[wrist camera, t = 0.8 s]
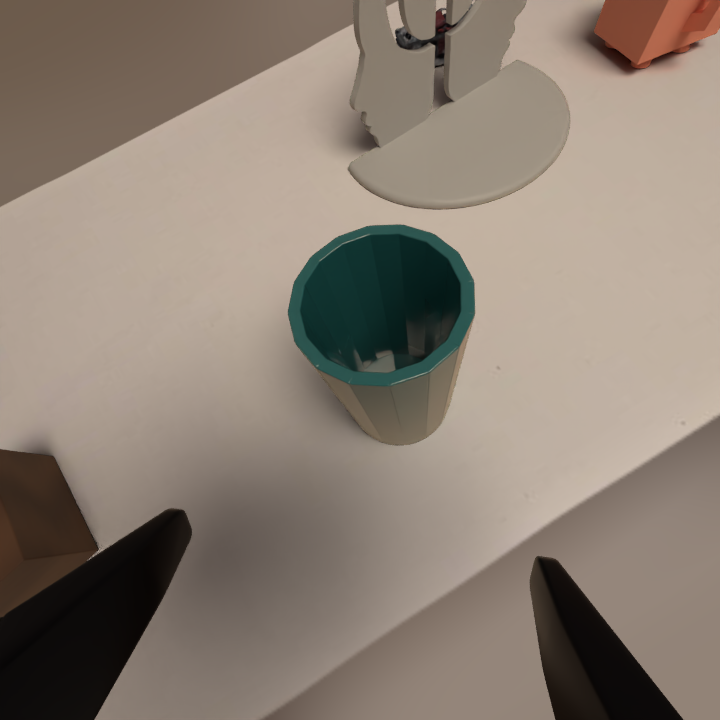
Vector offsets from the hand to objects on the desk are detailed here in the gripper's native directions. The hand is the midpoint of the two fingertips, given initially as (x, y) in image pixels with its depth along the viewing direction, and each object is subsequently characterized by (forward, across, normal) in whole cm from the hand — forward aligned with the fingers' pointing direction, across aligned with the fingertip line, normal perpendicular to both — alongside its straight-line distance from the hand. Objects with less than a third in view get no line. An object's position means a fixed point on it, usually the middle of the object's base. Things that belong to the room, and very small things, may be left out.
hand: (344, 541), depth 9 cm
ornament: (+34, -6, -12) cm, 37 cm away
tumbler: (+16, 0, +5) cm, 17 cm away
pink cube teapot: (+44, -22, -20) cm, 53 cm away
